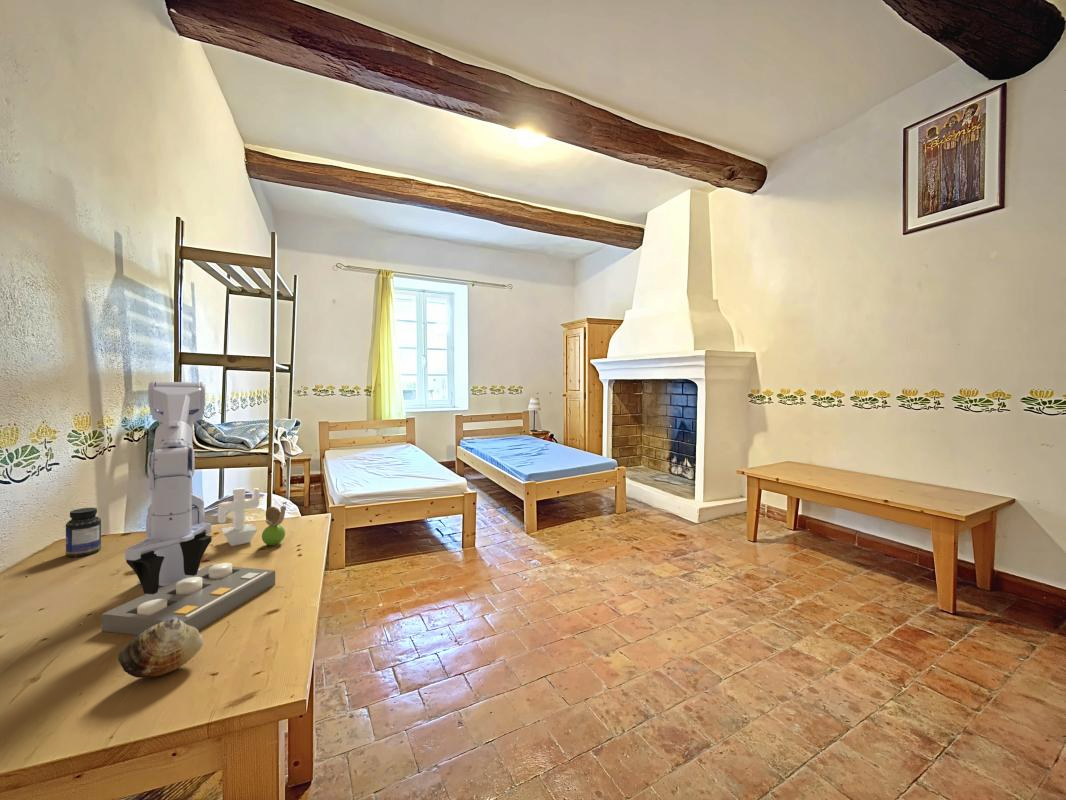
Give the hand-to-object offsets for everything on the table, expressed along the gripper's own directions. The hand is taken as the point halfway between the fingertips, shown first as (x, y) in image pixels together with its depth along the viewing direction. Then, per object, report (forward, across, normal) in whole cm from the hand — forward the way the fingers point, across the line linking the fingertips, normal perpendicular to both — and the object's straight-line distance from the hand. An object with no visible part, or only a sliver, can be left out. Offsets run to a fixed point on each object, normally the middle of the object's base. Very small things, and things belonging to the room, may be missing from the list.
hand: (171, 583), depth 79 cm
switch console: (+6, +4, -2) cm, 7 cm away
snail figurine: (+6, +34, +7) cm, 36 cm away
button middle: (+4, +4, 0) cm, 5 cm away
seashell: (+6, -14, -15) cm, 22 cm away
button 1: (+5, -3, 0) cm, 6 cm away
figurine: (+6, +34, +18) cm, 39 cm away
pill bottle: (+6, +20, +49) cm, 53 cm away
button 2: (+4, +10, 0) cm, 11 cm away
